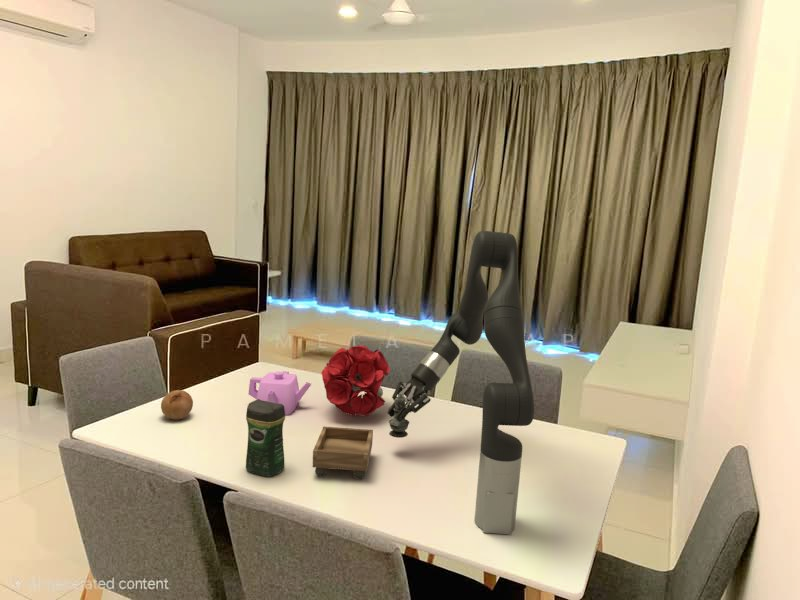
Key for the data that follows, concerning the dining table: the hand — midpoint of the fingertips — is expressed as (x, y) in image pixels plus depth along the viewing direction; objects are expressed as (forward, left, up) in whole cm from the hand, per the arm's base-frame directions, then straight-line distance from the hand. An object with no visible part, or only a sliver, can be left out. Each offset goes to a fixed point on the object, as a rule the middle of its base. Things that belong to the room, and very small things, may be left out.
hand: (393, 417), depth 164 cm
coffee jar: (-14, +33, -12) cm, 37 cm away
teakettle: (+30, +40, -12) cm, 51 cm away
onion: (+16, +69, -12) cm, 71 cm away
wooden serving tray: (-9, +13, -11) cm, 19 cm away
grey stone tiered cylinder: (+1, -2, -6) cm, 6 cm away
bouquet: (+32, +12, -12) cm, 37 cm away
